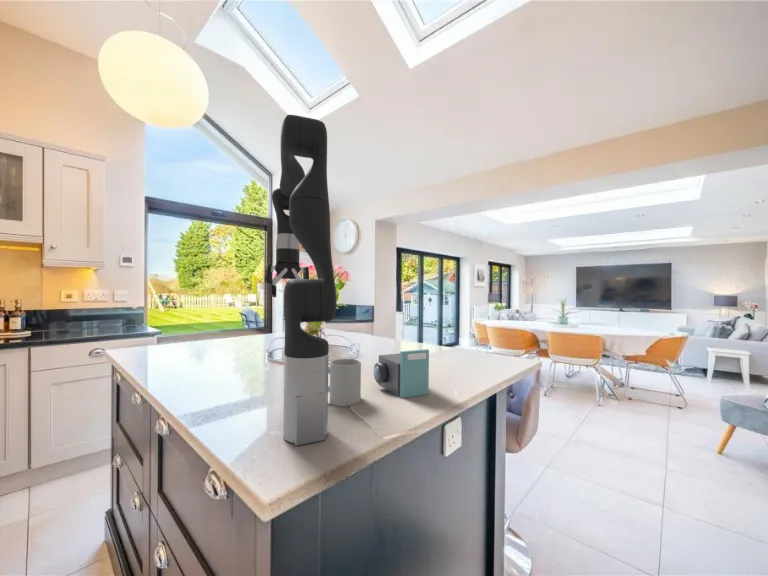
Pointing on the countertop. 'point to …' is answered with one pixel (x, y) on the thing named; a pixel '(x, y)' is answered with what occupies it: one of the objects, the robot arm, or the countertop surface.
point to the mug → (345, 382)
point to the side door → (414, 373)
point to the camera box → (388, 373)
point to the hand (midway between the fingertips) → (287, 297)
